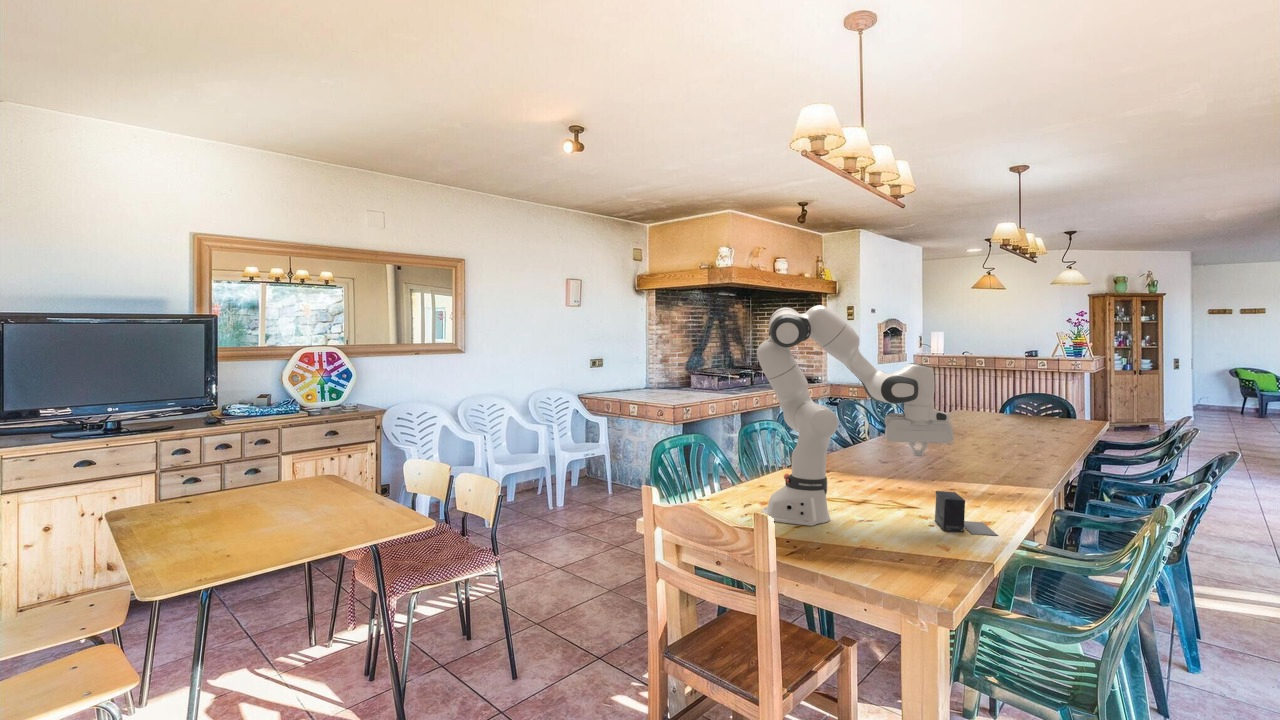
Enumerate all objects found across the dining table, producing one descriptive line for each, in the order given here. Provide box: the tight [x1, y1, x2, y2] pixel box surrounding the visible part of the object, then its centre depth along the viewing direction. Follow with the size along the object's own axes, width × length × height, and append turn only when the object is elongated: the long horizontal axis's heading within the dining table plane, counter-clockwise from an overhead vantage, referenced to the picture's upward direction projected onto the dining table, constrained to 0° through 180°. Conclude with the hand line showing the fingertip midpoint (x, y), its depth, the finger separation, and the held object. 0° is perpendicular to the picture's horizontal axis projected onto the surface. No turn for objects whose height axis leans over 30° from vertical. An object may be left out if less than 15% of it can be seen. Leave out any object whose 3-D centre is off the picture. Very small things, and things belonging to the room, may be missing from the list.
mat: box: [964, 520, 999, 537], centre depth 194 cm, size 8×13×1 cm, turn 169°
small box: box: [934, 490, 966, 533], centre depth 196 cm, size 11×6×10 cm, turn 168°
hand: (918, 456), depth 197 cm, fingers closed
